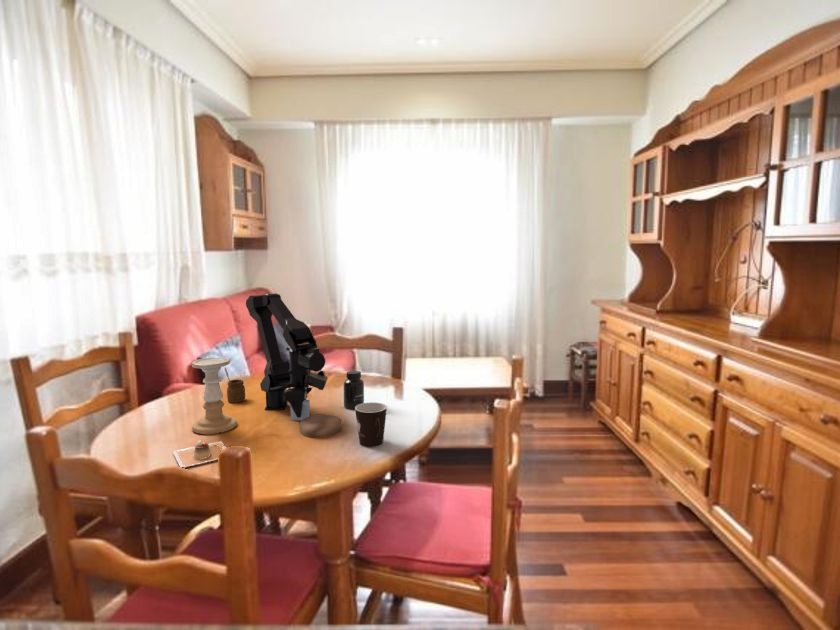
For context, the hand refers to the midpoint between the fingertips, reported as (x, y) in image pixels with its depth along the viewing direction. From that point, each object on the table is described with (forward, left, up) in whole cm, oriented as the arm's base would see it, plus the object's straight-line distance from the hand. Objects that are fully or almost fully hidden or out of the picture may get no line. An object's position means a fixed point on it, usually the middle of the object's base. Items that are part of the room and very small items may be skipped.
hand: (300, 414), depth 150 cm
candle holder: (-24, -7, -1) cm, 25 cm away
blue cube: (0, 0, -1) cm, 1 cm away
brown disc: (+8, -11, -1) cm, 14 cm away
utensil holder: (-26, +19, -1) cm, 32 cm away
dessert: (-20, -28, -2) cm, 34 cm away
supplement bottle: (+16, +10, -1) cm, 19 cm away
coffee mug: (+23, -23, -1) cm, 33 cm away
